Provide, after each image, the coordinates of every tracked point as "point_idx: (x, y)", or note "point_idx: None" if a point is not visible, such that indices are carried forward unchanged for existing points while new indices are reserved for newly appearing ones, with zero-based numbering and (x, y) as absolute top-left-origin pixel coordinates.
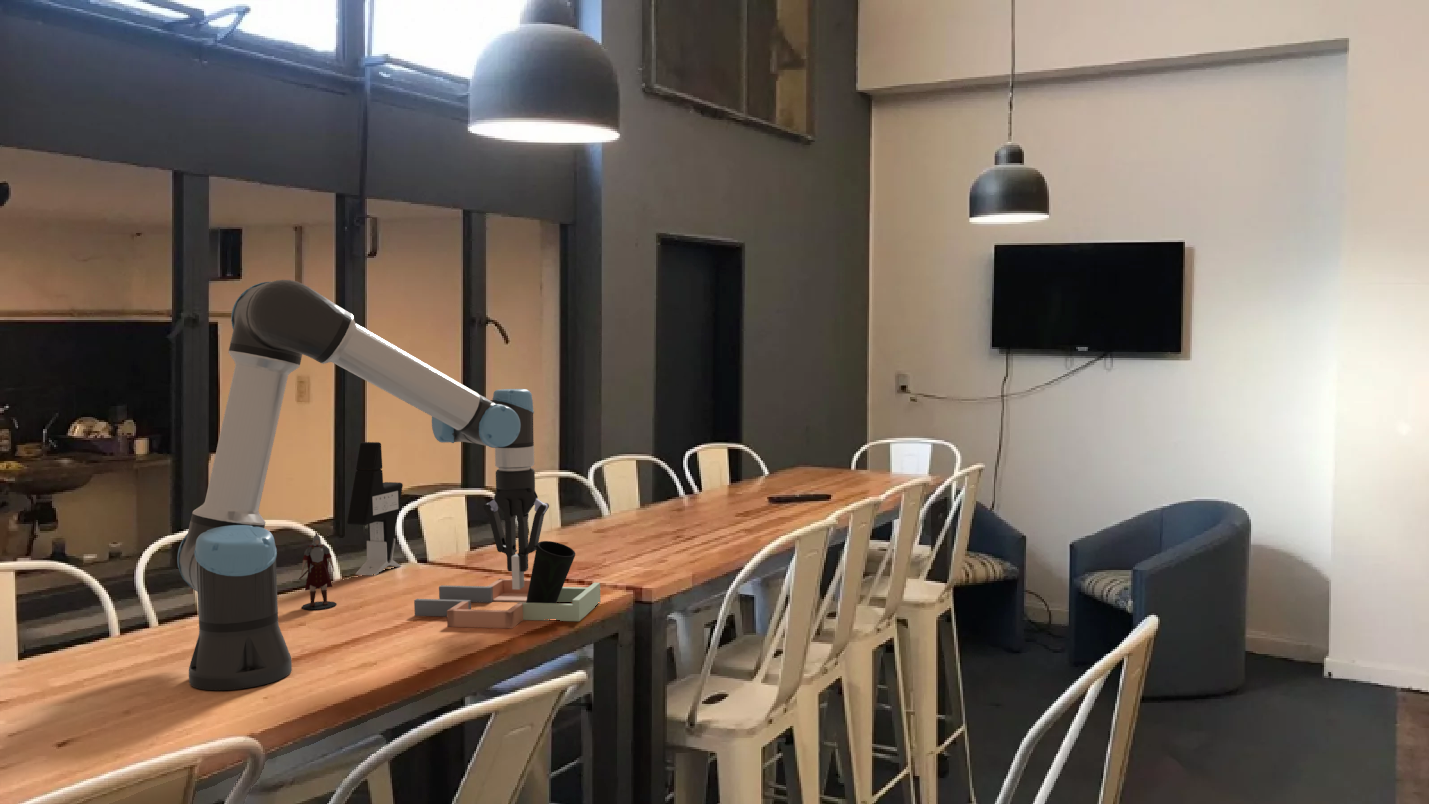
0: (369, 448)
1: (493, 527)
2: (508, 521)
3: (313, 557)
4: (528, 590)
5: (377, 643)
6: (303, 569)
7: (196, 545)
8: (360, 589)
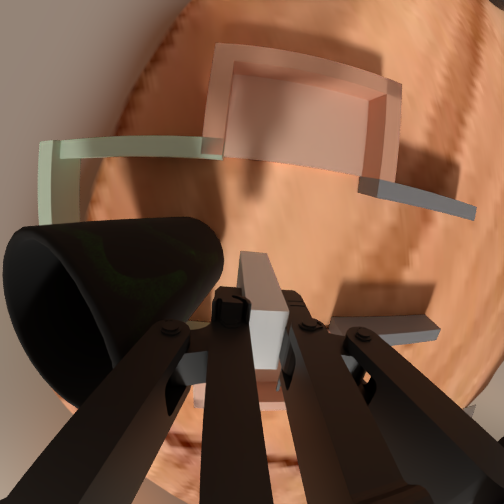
0: None
1: (456, 417)
2: (377, 493)
3: None
4: (211, 256)
5: (441, 20)
6: None
7: None
8: (490, 354)
